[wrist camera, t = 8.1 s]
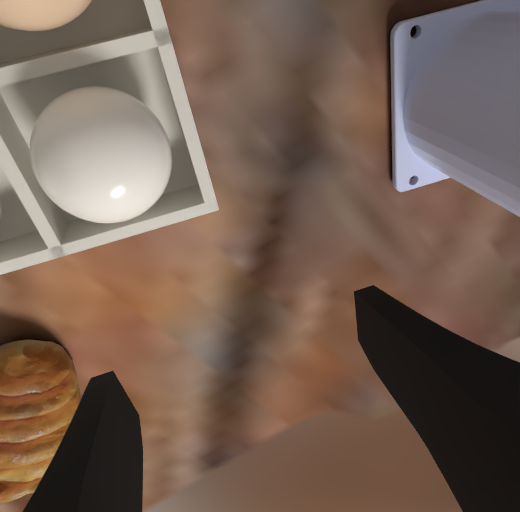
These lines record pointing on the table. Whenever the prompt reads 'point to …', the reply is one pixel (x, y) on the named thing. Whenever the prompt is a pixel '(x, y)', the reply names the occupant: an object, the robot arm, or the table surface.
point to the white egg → (100, 154)
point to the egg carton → (85, 75)
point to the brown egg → (39, 13)
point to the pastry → (33, 411)
